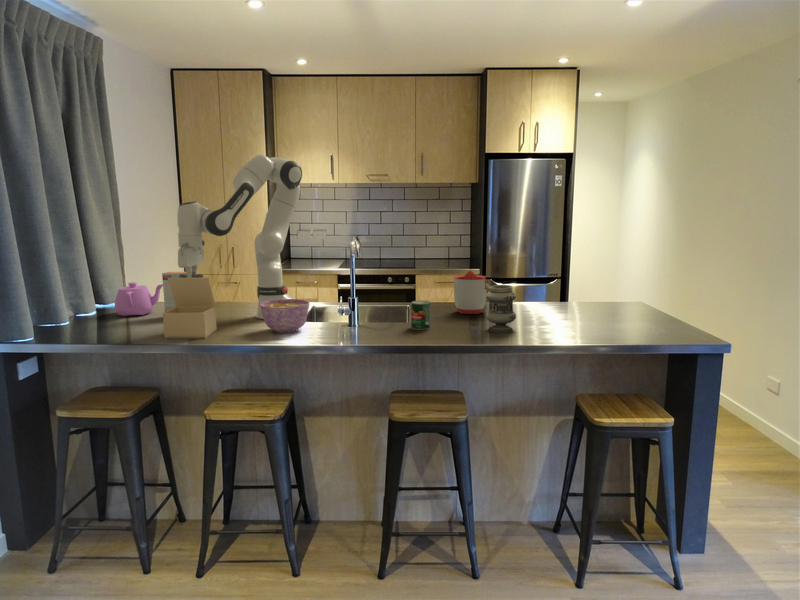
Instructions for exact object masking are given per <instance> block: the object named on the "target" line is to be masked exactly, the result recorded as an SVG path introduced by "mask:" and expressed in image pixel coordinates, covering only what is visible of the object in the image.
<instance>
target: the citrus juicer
mask: <svg viewBox="0 0 800 600" xmlns="http://www.w3.org/2000/svg"><path fill="white" fill-rule="evenodd" d="M453 279H454V280H453V282H454V283H453V289H454V290H453V296H454V297H453V298H454V299H453V300H454V304H455V309H456V312H458V313H460V314H462V315H464V314H465V315H467V314H468V315H479V314H481V313H483V311H484V309H485V306H486V302H487V301H486V300H487V297H486V295H487V289H491V286H490V283H489V284H488V283H487V276H486V275H480V274H479V275H478V274H475V273H474V272H473V270H469V271H468V272H467V273H466V274H460V275H455V276H453Z"/></svg>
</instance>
